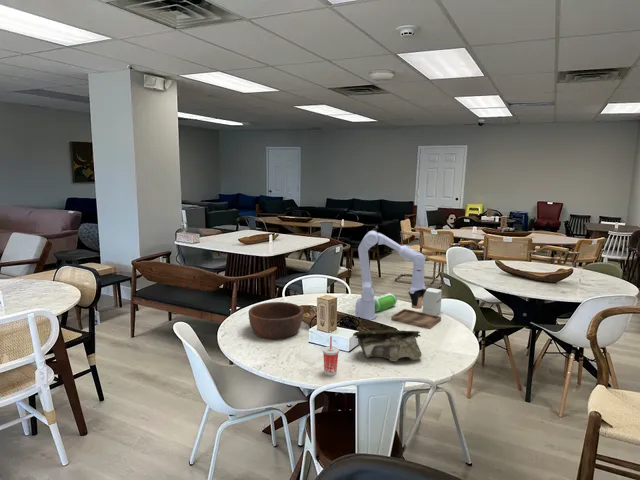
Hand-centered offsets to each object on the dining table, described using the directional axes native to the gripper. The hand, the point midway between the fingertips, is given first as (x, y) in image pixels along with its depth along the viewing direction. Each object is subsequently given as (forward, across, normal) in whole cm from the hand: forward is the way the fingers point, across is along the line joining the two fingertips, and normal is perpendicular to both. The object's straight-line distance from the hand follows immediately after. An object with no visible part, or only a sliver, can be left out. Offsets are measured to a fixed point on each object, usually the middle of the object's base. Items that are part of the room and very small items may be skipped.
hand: (416, 304), depth 208 cm
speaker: (+9, +6, +22) cm, 24 cm away
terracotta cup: (+2, 0, 0) cm, 2 cm away
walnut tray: (+8, 0, 0) cm, 8 cm away
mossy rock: (+9, -46, -7) cm, 47 cm away
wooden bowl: (+9, -53, +46) cm, 71 cm away
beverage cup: (+9, -71, +3) cm, 72 cm away
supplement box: (+9, +16, -2) cm, 18 cm away
